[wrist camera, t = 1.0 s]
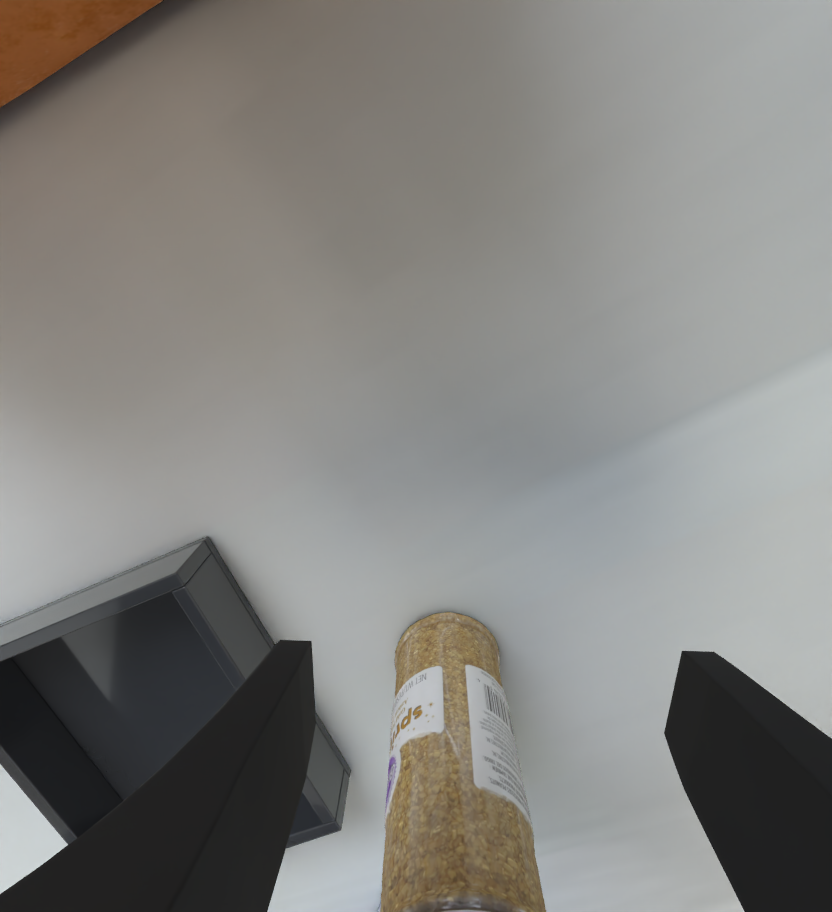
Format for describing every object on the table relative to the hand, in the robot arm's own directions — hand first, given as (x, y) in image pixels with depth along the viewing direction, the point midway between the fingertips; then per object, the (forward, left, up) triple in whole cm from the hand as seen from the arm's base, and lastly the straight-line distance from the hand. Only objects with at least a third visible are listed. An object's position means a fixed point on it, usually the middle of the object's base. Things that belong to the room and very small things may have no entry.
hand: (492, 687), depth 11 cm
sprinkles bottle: (-8, -2, -11) cm, 14 cm away
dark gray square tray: (-14, +9, -11) cm, 20 cm away
